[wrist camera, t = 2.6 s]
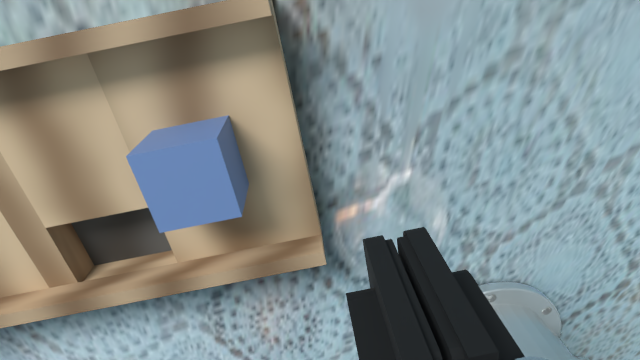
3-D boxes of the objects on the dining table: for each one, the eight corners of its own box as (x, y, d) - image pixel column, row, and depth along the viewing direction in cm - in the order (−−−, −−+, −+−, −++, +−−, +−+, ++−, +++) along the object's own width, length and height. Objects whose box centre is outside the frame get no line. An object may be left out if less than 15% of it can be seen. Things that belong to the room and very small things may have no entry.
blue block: (228, 115, 22) (217, 138, 18) (249, 183, 24) (242, 216, 20) (152, 130, 22) (125, 156, 18) (178, 197, 24) (159, 232, 20)
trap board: (270, -7, 22) (265, -9, 17) (321, 226, 29) (327, 274, 24) (-272, 104, 22) (-433, 135, 17) (-92, 308, 29) (-170, 371, 24)
